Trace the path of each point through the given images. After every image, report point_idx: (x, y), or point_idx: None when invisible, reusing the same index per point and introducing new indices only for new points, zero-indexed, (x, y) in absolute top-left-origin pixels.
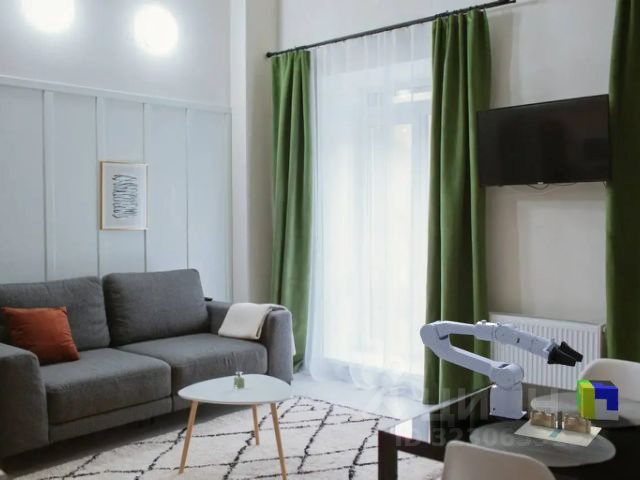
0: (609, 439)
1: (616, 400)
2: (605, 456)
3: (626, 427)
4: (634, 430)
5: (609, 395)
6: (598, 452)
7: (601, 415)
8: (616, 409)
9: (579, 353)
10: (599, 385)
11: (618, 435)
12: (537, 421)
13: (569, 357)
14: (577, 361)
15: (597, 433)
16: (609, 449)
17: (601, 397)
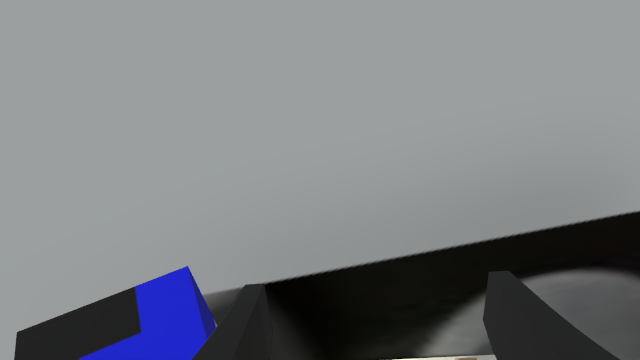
0: (447, 314)
1: (203, 301)
2: (614, 285)
3: (284, 300)
4: (304, 275)
5: (205, 314)
6: (601, 310)
7: None
8: (213, 321)
9: (246, 304)
10: (141, 353)
11: (386, 301)
12: None
13: (550, 313)
14: (269, 357)
15: (429, 358)
16: (543, 291)
17: None
